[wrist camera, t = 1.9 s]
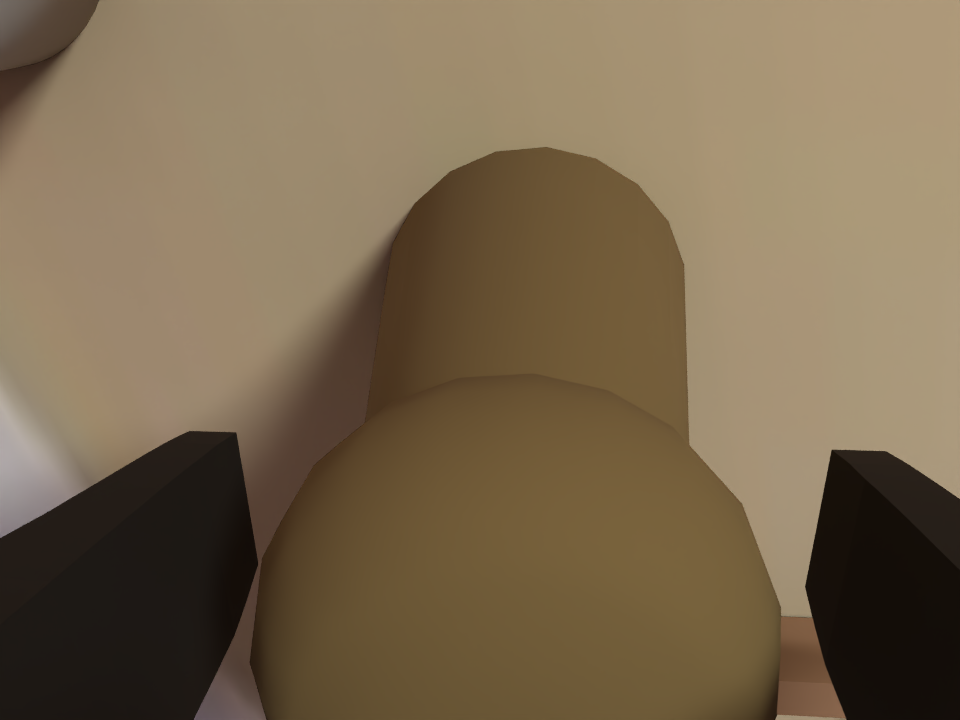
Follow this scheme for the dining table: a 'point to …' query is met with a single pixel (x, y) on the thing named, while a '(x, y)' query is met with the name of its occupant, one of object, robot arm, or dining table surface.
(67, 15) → the grey rounded piece
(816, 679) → the walnut collar block
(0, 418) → the dining table surface
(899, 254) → the dining table surface
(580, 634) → the cork
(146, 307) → the dining table surface
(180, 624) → the robot arm
